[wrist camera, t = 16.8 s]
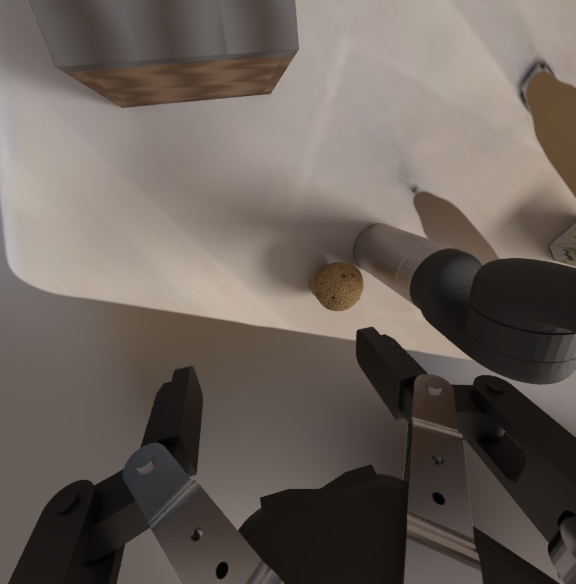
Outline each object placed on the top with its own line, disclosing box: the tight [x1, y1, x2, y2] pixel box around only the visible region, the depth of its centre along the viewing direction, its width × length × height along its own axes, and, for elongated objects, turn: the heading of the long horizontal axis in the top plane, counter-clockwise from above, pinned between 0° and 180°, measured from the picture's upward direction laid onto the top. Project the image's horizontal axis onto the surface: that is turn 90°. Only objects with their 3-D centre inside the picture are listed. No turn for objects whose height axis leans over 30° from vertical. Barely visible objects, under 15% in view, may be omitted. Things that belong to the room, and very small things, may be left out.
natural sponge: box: [309, 262, 363, 311], centre depth 48 cm, size 9×9×10 cm
